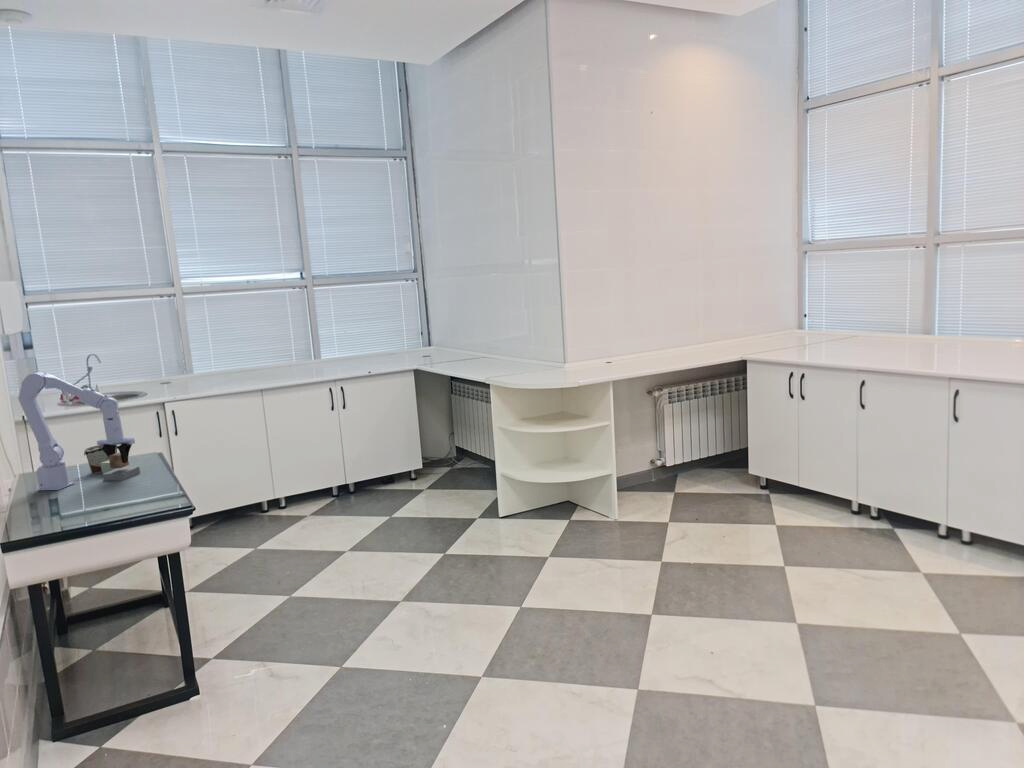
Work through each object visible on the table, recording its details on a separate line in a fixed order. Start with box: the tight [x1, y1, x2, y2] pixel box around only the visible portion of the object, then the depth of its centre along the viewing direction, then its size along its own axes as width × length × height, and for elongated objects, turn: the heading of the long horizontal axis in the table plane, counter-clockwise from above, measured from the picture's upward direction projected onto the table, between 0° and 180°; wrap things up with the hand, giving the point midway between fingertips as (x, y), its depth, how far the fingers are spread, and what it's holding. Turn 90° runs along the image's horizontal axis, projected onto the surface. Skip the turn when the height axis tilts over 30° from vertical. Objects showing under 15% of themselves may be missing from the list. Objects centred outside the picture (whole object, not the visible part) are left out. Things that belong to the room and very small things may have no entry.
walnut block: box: [109, 452, 130, 468], centre depth 278 cm, size 4×4×5 cm
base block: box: [102, 466, 141, 481], centre depth 279 cm, size 9×9×3 cm
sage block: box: [100, 460, 116, 476], centre depth 285 cm, size 4×4×5 cm
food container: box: [83, 445, 119, 475], centre depth 291 cm, size 12×6×10 cm, turn 130°
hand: (119, 462), depth 278 cm, fingers closed on walnut block, 4 cm apart
